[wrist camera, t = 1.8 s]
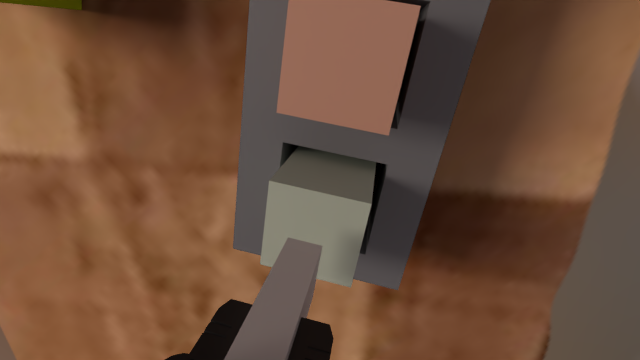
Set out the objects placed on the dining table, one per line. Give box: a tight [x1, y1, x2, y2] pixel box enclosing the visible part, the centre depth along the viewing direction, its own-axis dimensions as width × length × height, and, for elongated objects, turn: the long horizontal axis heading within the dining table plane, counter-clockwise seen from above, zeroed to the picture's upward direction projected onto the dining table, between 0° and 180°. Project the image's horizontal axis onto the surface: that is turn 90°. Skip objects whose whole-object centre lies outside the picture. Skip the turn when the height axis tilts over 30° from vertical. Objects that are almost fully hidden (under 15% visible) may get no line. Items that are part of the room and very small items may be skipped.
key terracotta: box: [276, 0, 421, 136], centre depth 17 cm, size 5×5×8 cm
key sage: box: [260, 146, 376, 287], centre depth 20 cm, size 5×5×8 cm
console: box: [233, 0, 491, 290], centre depth 20 cm, size 26×11×6 cm, turn 171°
